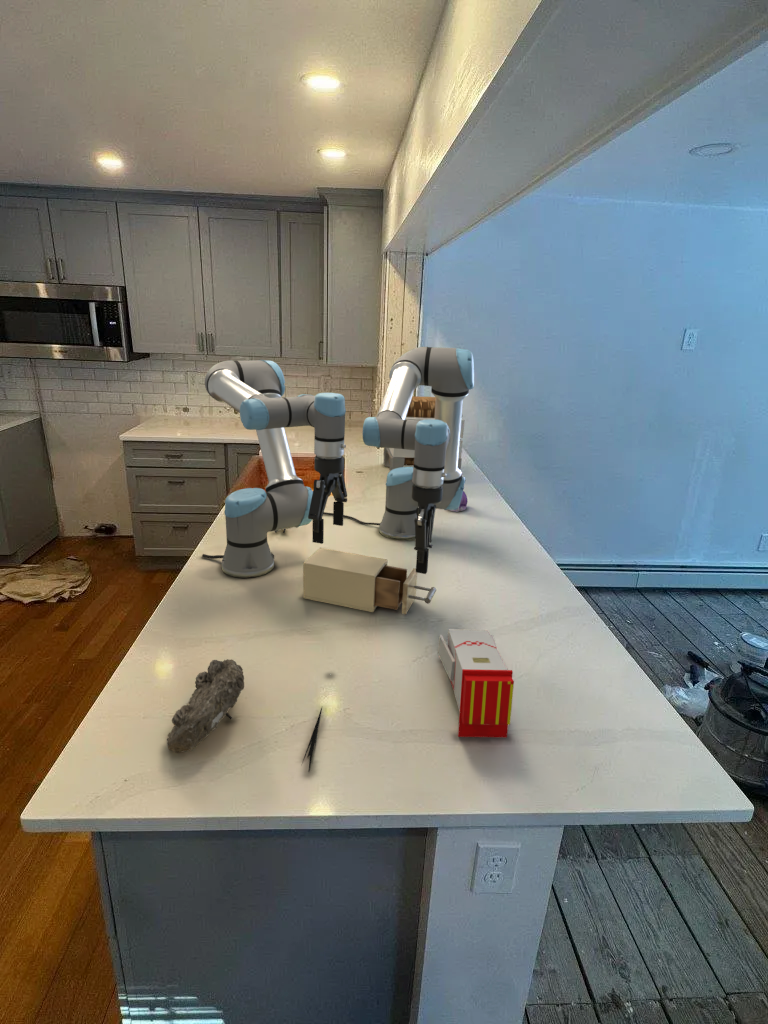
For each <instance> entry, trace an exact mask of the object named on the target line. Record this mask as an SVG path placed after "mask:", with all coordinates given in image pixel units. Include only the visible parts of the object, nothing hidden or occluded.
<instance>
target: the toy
mask: <svg viewBox="0 0 768 1024" xmlns="http://www.w3.org/2000/svg"><path fill="white" fill-rule="evenodd" d="M446 640H447V643H446V641H445V639H444V636H443V635H442V634H439V637H438V646H437V656H438V657H439V659H440V661H441V663H442V666H443V668H444V670H445V672H446V674H447V677H448V679H449V681H450V684H451V687H452V690H453V693H454V697H455V701H456V705H457V708H458V711H459V714H458V715H459V716H458V730H457V731H458V732H457V737H458V738H508V731H509V726H510V725H511V717H512V707H513V697H514V696H513V695H514V684H515V680H514V679H513V673H514V671H513V670H512V669H508V667H507V665H506V662H505V661H504V659H503V658H502V655H501V653H500V651H499V649H498V647H497V643H496V639H495V637H494V635H493V634H491V632H490V631H489V629H467V628H466V629H465V628H463V629H461V628H460V629H459V628H448V630H447V639H446Z"/></svg>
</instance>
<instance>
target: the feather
mask: <svg viewBox="0 0 768 1024" xmlns="http://www.w3.org/2000/svg"><path fill="white" fill-rule="evenodd" d="M329 675H330V676H331V675H332V674H331V673H330V674H329ZM322 710H323V707H321V708H320V710H319V713H318V716H317V719H316V723H315V725H314V728H313V731H312V733H311V737H310V739H309V742H308V745H307V748H306V751H305V754H304V757H303V760H302V763H301V767H302V765H303V763H304V761H305V758H308V759H309V760H308V762H307V763H308V764H307V766H308V771H310V770H311V766H312V765H311V764H312V760H313V757H315V756H314V755H315V751H316V749H315V746H317V739H318V733H319V729H320V722H321V717H322V712H323V711H322ZM313 754H314V755H313ZM306 755H307V757H306Z"/></svg>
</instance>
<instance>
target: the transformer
mask: <svg viewBox="0 0 768 1024" xmlns="http://www.w3.org/2000/svg"><path fill="white" fill-rule="evenodd" d="M435 402H436V397H435V396H415V395H413V396H412V399H411V402H410V405H409V409H408V412H407V415H406V418H405V420H415V421H421V420H428V419H431V420H434V419H435ZM464 429H465V419H464V418H462V419H461V431H460V443H459V455H458V468H459V469H460V470H461V471H462V461H463V460H462V453H463V442H464V441H463V440H462V439H463V438H464V431H465V430H464ZM414 454H415V450H406V449H396V448H383V466H384V467H388V468H389V472H390V471H391V470H393V469H396V468H400V467H405V466H406V467H413V466H414Z"/></svg>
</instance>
